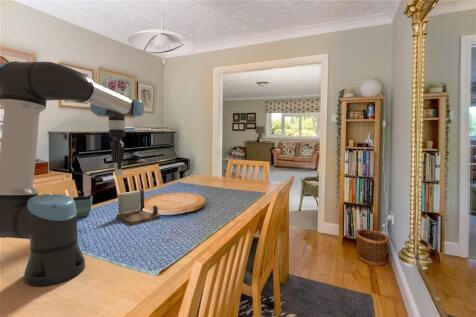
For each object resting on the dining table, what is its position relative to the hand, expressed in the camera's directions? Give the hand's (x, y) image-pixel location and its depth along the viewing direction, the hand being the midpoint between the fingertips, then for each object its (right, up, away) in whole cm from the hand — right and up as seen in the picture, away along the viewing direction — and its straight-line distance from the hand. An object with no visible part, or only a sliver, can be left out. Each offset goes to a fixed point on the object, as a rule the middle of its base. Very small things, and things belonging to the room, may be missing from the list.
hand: (118, 175), depth 135 cm
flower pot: (-17, -21, -2) cm, 27 cm away
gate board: (+12, -21, -3) cm, 24 cm away
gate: (+6, -18, -1) cm, 19 cm away
